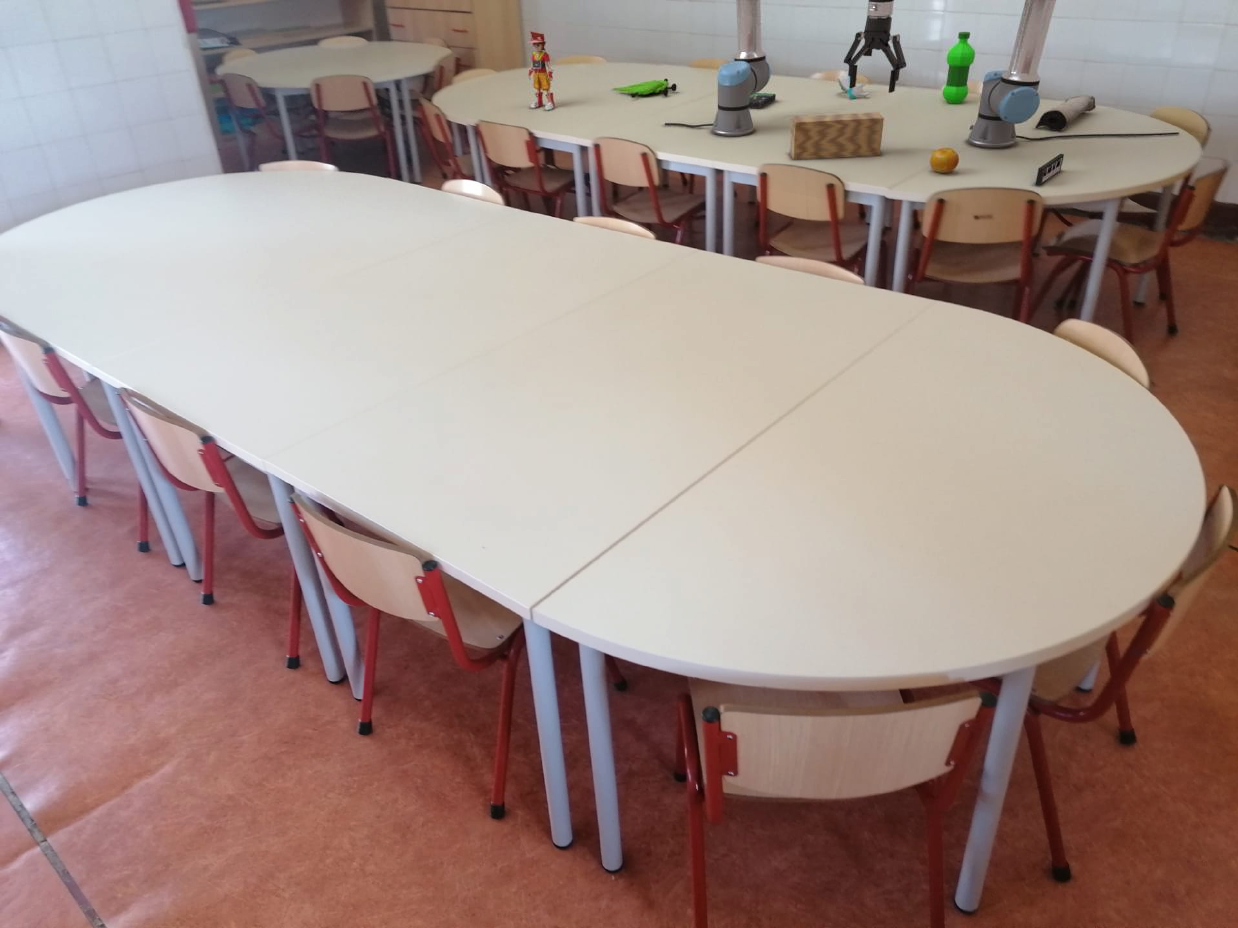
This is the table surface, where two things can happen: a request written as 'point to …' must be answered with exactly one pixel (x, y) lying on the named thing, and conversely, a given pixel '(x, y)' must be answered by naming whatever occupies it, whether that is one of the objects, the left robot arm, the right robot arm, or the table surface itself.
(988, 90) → the right robot arm
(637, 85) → the toy
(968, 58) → the plastic bottle
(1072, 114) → the rolled mat
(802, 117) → the box
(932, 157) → the fruit
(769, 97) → the disk drive
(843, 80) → the anatomical model
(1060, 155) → the midi keyboard
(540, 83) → the toy
